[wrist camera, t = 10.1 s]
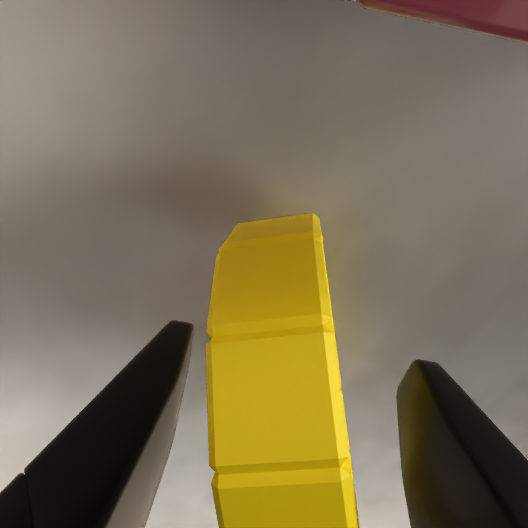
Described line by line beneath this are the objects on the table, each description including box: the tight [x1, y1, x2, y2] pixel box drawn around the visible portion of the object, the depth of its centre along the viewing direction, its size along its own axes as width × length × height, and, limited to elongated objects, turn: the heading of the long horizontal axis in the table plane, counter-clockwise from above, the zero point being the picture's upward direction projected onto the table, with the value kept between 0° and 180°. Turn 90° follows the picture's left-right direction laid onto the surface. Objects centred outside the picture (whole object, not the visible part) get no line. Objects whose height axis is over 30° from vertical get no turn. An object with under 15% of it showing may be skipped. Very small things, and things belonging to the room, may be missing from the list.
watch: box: [206, 213, 359, 528], centre depth 7 cm, size 6×3×6 cm, turn 11°
